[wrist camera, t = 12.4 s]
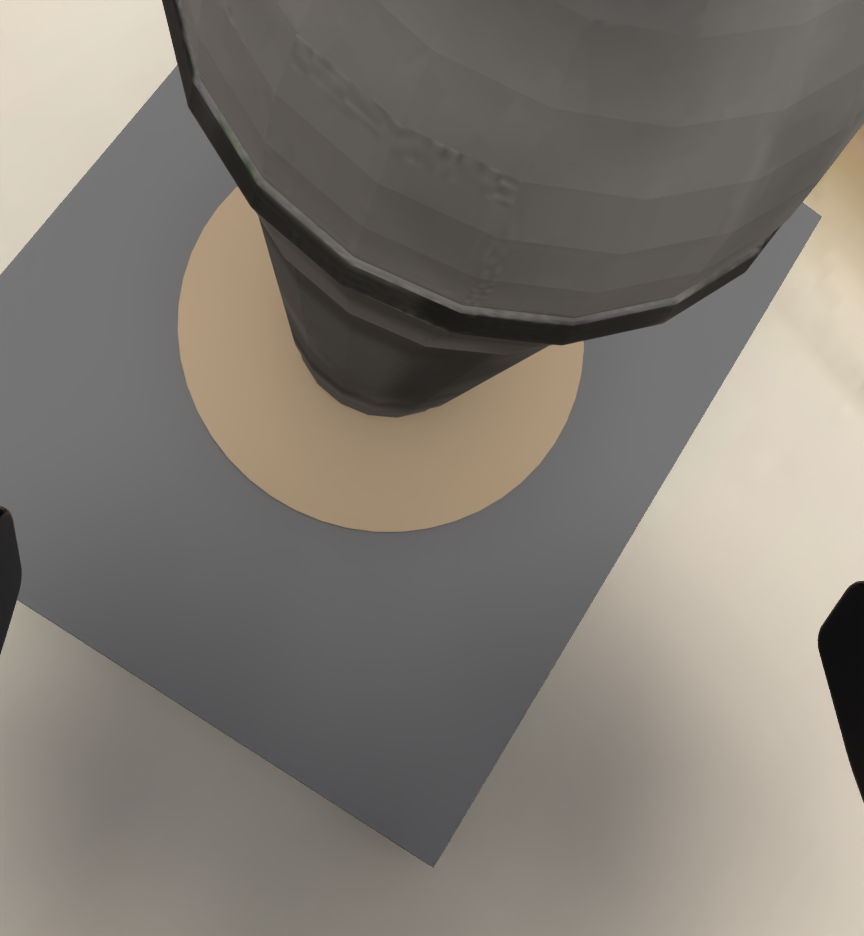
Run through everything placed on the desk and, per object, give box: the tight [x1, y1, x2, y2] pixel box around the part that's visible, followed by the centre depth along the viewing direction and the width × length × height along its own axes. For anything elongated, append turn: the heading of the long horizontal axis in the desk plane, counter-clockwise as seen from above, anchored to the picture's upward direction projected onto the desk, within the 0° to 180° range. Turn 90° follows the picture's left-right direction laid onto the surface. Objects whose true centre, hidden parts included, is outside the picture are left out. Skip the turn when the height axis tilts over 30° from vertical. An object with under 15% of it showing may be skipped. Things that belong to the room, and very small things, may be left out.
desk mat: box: [0, 65, 821, 868], centre depth 20 cm, size 20×16×1 cm
